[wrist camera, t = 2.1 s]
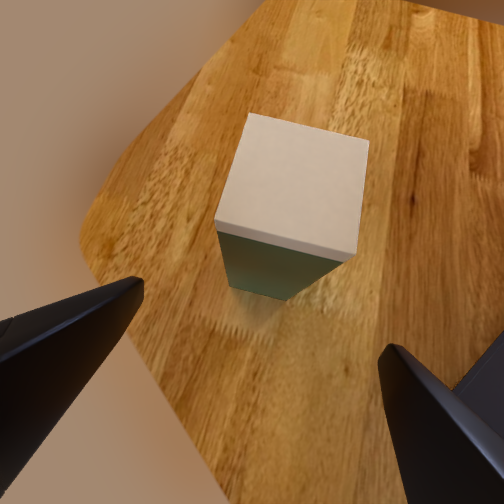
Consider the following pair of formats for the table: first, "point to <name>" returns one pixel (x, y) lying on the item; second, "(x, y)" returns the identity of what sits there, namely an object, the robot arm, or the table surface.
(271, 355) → the table surface
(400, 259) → the table surface
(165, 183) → the table surface
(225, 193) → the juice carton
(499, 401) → the dark blue open container
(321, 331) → the table surface
